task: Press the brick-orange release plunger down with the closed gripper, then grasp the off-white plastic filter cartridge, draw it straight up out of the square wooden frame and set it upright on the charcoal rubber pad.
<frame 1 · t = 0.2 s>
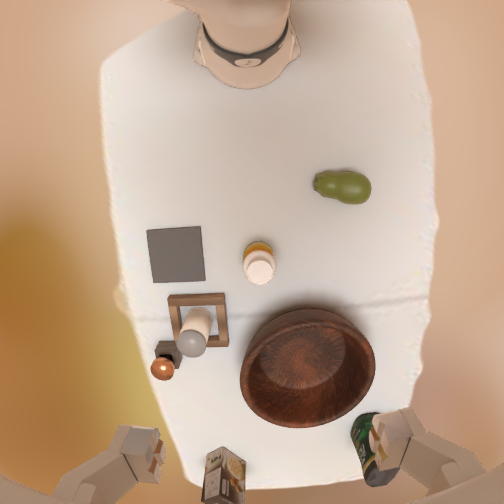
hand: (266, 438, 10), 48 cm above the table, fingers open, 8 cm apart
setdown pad: (176, 255, 58), on the table
filter cartridge: (199, 319, 61), resting in square wooden frame
supplement bottle: (258, 255, 58), on the table
coffee jar: (365, 424, 69), on the table
wooden bowl: (302, 352, 63), on the table
plunger: (164, 364, 58), point 5 cm above the table, slide at 0.0 cm
coffee box: (226, 457, 72), on the table
pear: (338, 185, 55), on the table
square wooden frame: (199, 319, 61), on the table
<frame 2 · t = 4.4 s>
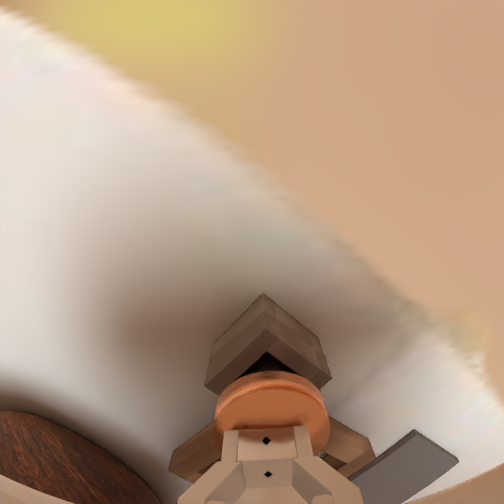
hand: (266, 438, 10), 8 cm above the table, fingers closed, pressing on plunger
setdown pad: (395, 478, 22), on the table
filter cartridge: (271, 452, 20), resting in square wooden frame
wooden bowl: (73, 477, 23), on the table
plunger: (269, 397, 13), point 5 cm above the table, slide at 0.5 cm, touching gripper
square wooden frame: (271, 452, 20), on the table
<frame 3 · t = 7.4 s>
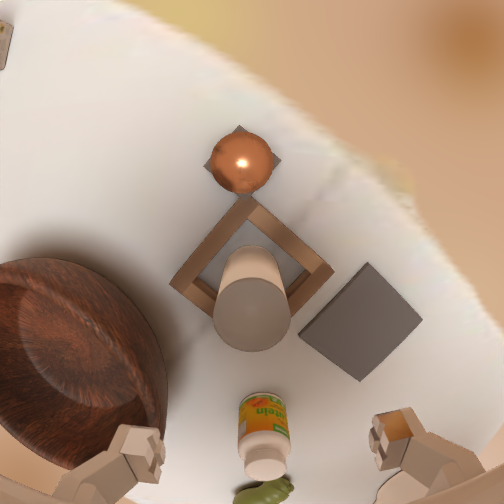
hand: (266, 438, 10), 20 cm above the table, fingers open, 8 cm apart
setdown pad: (363, 326, 32), on the table
filter cartridge: (251, 271, 30), resting in square wooden frame
supplement bottle: (262, 406, 35), on the table
wooden bowl: (81, 344, 33), on the table
plunger: (242, 163, 24), point 3 cm above the table, slide at 2.1 cm
pear: (262, 485, 39), on the table
square wooden frame: (251, 271, 30), on the table
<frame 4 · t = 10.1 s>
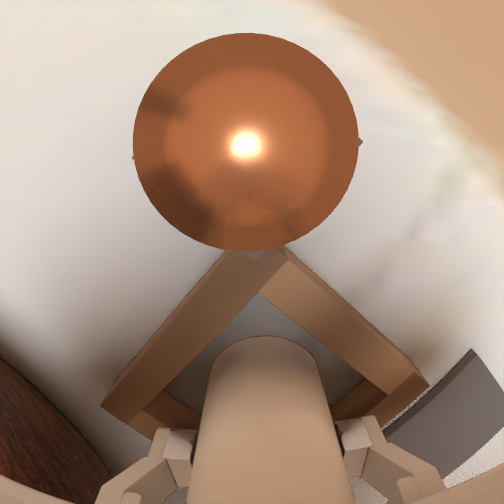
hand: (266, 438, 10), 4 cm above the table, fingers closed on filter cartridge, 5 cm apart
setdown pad: (441, 437, 15), on the table
filter cartridge: (264, 382, 14), resting in square wooden frame, touching gripper
wooden bowl: (10, 435, 17), on the table
plunger: (247, 146, 8), point 3 cm above the table, slide at 2.1 cm
square wooden frame: (264, 382, 14), on the table
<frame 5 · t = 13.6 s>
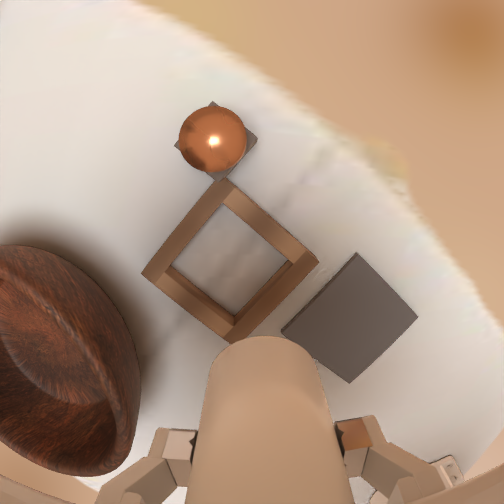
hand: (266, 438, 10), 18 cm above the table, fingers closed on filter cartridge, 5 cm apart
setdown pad: (353, 323, 30), on the table
filter cartridge: (263, 382, 14), point 15 cm above the table, touching gripper
wooden bowl: (57, 337, 30), on the table
plunger: (216, 141, 22), point 3 cm above the table, slide at 2.1 cm
square wooden frame: (229, 261, 28), on the table
when the fingers open (6 cm above the table, at t = 17.4 s): filter cartridge drops 1 cm, resting on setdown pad.
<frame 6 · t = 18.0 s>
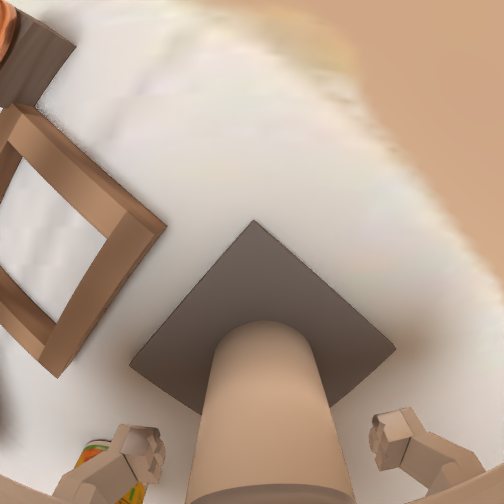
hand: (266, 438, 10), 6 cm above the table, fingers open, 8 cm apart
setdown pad: (262, 358, 16), on the table
filter cartridge: (263, 364, 15), point 1 cm above the table, touching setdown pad
supplement bottle: (118, 459, 19), on the table
square wooden frame: (40, 239, 14), on the table
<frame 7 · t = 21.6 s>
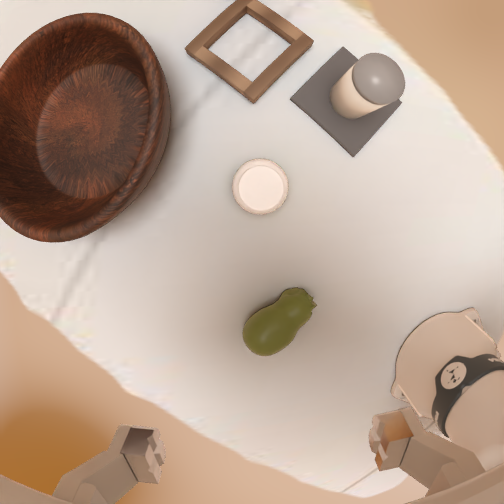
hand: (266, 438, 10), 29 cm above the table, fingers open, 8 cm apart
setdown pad: (348, 99, 34), on the table
filter cartridge: (349, 99, 33), point 1 cm above the table, touching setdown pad
supplement bottle: (259, 183, 37), on the table
wooden bowl: (92, 130, 35), on the table
pear: (278, 313, 41), on the table
square wooden frame: (249, 47, 33), on the table
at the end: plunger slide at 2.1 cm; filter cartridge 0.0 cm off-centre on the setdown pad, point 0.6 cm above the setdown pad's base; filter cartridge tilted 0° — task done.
